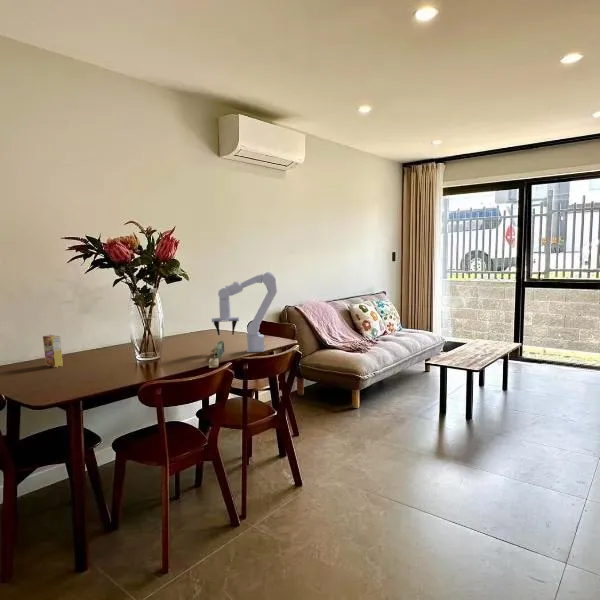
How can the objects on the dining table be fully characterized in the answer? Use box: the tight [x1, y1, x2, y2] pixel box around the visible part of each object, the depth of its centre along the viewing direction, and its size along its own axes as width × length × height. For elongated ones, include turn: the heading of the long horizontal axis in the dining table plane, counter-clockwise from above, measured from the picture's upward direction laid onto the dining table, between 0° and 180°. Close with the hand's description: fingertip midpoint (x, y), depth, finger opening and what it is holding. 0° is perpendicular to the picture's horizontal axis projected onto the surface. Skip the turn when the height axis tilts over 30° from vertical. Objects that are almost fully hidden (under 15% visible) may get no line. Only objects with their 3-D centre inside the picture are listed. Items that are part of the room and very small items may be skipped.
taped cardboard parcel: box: [208, 343, 220, 368], centre depth 237 cm, size 4×42×3 cm, turn 5°
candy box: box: [42, 334, 64, 368], centre depth 226 cm, size 9×4×15 cm, turn 57°
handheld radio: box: [213, 340, 226, 361], centre depth 237 cm, size 7×3×25 cm
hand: (225, 334), depth 249 cm, fingers open, 7 cm apart
